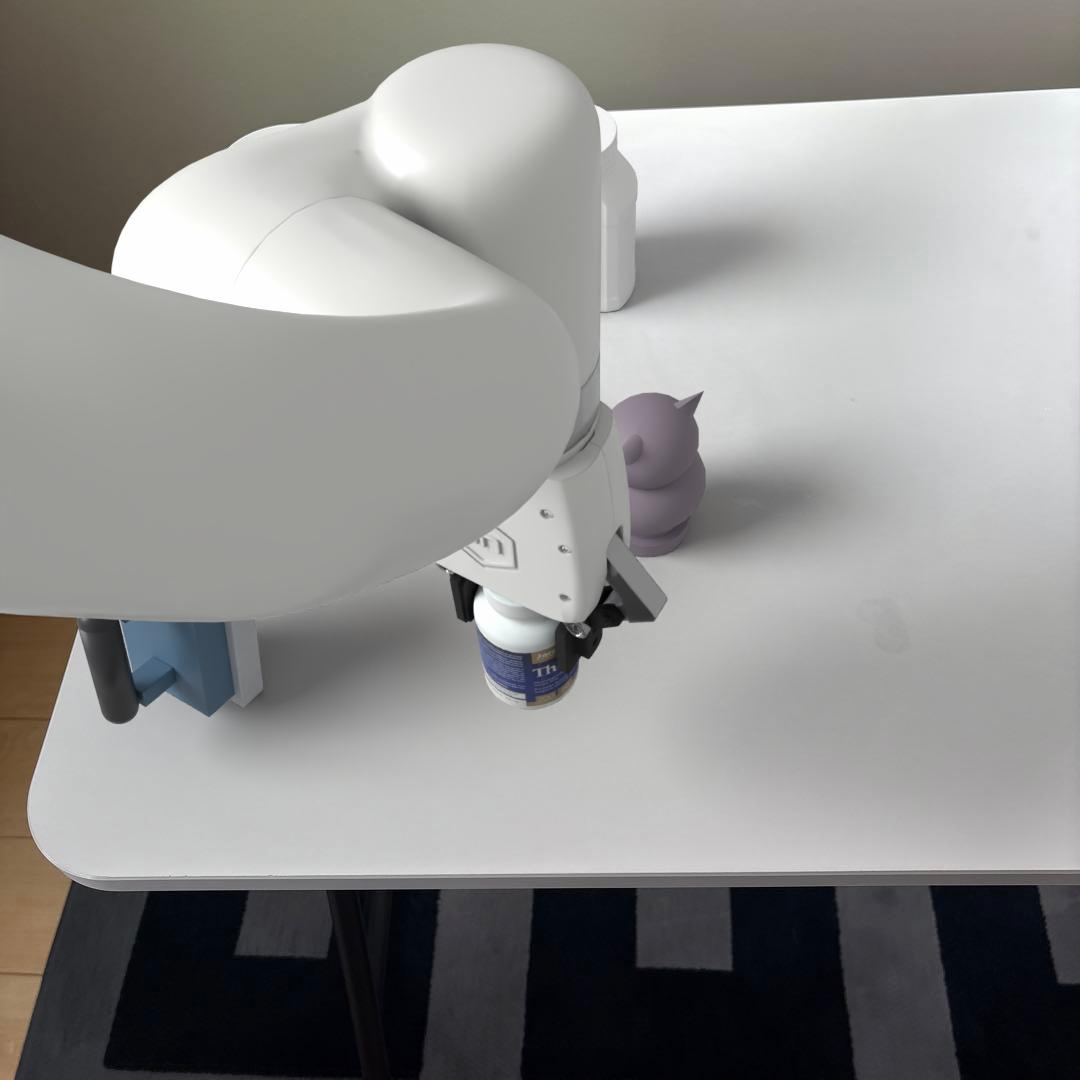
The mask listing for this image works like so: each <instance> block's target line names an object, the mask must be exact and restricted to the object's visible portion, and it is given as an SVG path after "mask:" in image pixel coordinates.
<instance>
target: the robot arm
mask: <svg viewBox="0 0 1080 1080" xmlns="http://www.w3.org/2000/svg"><path fill="white" fill-rule="evenodd" d="M595 105H596V104H595V103H594V100H593V98H592V96H591V94H590V92H589V90H588V89H587V88H586V86H585V85H584V83H583V82H582V81H581V79H580V78H579V77H578V76H577V75H576V74H575V73H574V72H573V71H572V70H571V69H570V68H568V67H567V66H566V65H564V64H563V63H561V62H559V61H558V60H556V59H555V58H553V57H550V56H548V55H546V54H543V53H541V52H540V51H539V52H538V51H537V50H533V49H530V48H526V47H523V46H519V45H511V44H506V43H489V42H486V43H485V42H484V43H483V42H480V43H465V44H460V45H454V46H449V47H444V48H441V49H436V50H434V51H431V52H428V53H426V54H423V55H420V56H417V57H416V58H414V59H412V60H410V61H408V62H407V63H405V64H403V65H402V66H401V67H400V68H398V69H396V70H395V71H394V72H393V73H391V74H390V75H388V77H387V78H385V79H384V80H383V81H382V82H381V83H380V84H379V85H378V86H377V88H376V89H375V91H374V92H373V93H372V95H370V97H369V98H368V99H366V100H365V101H362V102H360V103H357V104H354V105H352V106H349V107H347V108H344V109H341V110H338V111H336V112H334V113H330V114H328V115H324V116H321V117H318V118H316V119H313V120H310V121H307V122H304V123H301V124H297V125H295V126H291V127H288V128H285V129H282V130H280V131H276V132H273V133H269V134H265V135H263V136H259V137H256V138H254V139H251V140H248V141H245V142H242V143H238V144H236V145H233V146H230V147H227V148H224V149H223V150H222V149H221V150H219V151H217V152H214V153H212V154H210V155H208V156H205V157H203V158H200V159H199V160H197V161H194V162H192V163H190V164H188V165H187V166H185V167H183V168H182V169H180V170H178V171H176V172H175V173H174V174H172V175H171V176H170V177H168V178H167V179H165V180H164V181H163V182H162V183H160V184H159V185H157V186H156V187H155V188H154V189H152V191H150V193H148V194H147V196H146V197H144V198H143V199H142V201H141V202H140V203H139V205H138V206H137V207H136V208H135V210H134V211H133V212H132V213H131V214H130V216H129V218H128V219H127V221H126V223H125V225H124V227H123V228H122V230H121V231H120V233H119V237H118V240H117V243H116V246H115V248H114V251H113V257H112V263H111V271H110V272H111V273H110V272H106V271H102V270H99V269H96V268H93V267H89V266H87V265H84V264H81V263H78V262H75V261H72V260H70V259H67V258H64V257H61V256H59V255H55V254H52V253H50V252H47V251H44V250H41V249H39V248H35V247H33V246H30V245H28V244H25V243H24V242H23V243H22V242H20V241H18V240H15V239H13V238H11V237H8V236H6V235H3V234H2V233H1V234H0V614H5V615H17V616H35V617H55V618H73V619H77V618H97V619H113V620H119V621H120V620H134V621H161V622H228V621H242V620H255V621H256V620H265V619H270V618H276V617H281V616H289V615H294V614H299V613H304V612H308V611H310V610H314V609H318V608H322V607H326V606H329V605H332V604H335V603H337V602H340V601H342V600H345V599H349V598H352V597H355V596H357V595H360V594H362V593H364V592H368V591H370V590H372V589H375V588H377V587H380V586H383V585H385V584H387V583H390V582H392V581H394V580H397V579H399V578H402V577H405V576H407V575H409V574H412V573H415V572H416V571H419V570H421V569H423V568H425V567H427V566H429V565H431V564H434V563H435V565H436V566H437V568H438V569H440V570H441V571H442V572H443V573H446V574H448V575H449V584H450V589H451V594H452V599H453V605H454V609H455V614H456V619H457V620H459V621H461V622H463V623H465V624H467V623H471V622H473V621H474V620H475V617H474V598H475V594H476V591H477V589H478V587H479V585H481V586H483V587H485V588H487V589H489V590H491V591H493V592H495V593H497V594H499V595H501V596H503V597H505V598H508V599H510V600H512V601H514V602H516V603H518V604H520V605H522V606H524V607H526V608H528V609H530V610H533V611H535V612H537V613H539V614H541V615H544V616H546V617H548V618H551V619H554V620H557V621H560V623H559V624H558V626H557V628H556V630H555V646H556V662H557V666H558V667H559V670H560V671H562V672H564V673H566V674H570V673H571V671H572V670H573V668H574V667H575V665H576V664H577V662H578V661H579V662H580V660H581V657H582V658H584V659H586V660H590V659H591V658H592V657H593V655H594V654H595V652H596V651H597V649H598V647H599V646H600V644H601V642H602V639H603V634H604V633H603V632H604V629H609V628H617V627H620V625H621V624H622V623H623V622H628V623H629V624H634V623H635V624H637V623H640V624H641V623H653V622H655V621H656V620H657V618H658V616H659V615H660V613H661V611H662V610H663V608H664V607H665V606H666V604H667V602H668V596H667V594H666V593H665V591H663V589H662V588H661V586H659V584H658V583H657V582H656V580H655V579H654V578H653V577H652V575H651V574H650V573H649V572H648V571H647V569H646V568H645V567H644V565H643V564H642V563H641V562H640V561H639V560H638V558H637V556H635V555H634V554H633V553H632V552H631V551H630V549H629V546H630V528H631V526H630V501H629V489H628V480H627V471H626V466H625V460H624V454H623V450H622V445H621V441H620V437H619V433H618V429H617V426H616V423H615V419H614V416H613V413H612V408H611V407H610V406H608V405H607V404H606V403H605V402H603V401H601V312H600V311H601V171H602V152H601V134H600V122H599V118H598V114H597V111H596V108H595Z"/></svg>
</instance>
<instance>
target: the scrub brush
mask: <svg viewBox="0 0 1080 1080" xmlns="http://www.w3.org/2000/svg"><path fill="white" fill-rule="evenodd" d="M256 624H257V623H256V620H242V621H228V622H161V621H134V620H113V619H97V618H76V625H77V628H78V632H79V636H80V640H81V644H82V647H83V650H84V654H85V658H86V661H87V665H88V668H89V672H90V675H91V680H92V683H93V686H94V690H95V694H96V697H97V701H98V705H99V707H100V712H101V714H102V716H103V717H104V719H105V720H106V721H107V722H109V723H111V724H114V725H124V724H127V723H129V722H131V721H132V720H133V719H134V718H135V717H136V716H137V715H138V713H139V708H140V705H141V706H143V707H144V708H147V707H149V705H151V704H152V703H153V702H155V700H157V699H158V698H159V697H160V696H162V695H163V694H164V693H165V692H166V693H168V694H169V695H171V696H173V697H174V698H176V699H178V700H179V701H180V702H182V703H184V704H186V705H188V706H189V707H191V708H193V709H195V710H196V711H197V712H199V713H201V714H203V715H205V716H206V717H207V718H210V717H211V716H213V715H214V714H215V713H216V712H217V711H218V710H219V709H220V708H222V707H223V706H224V705H225V704H226V703H228V702H229V701H231V702H233V703H235V704H236V705H238V706H240V707H241V708H245V707H246V706H247V705H249V703H250V702H251V701H253V700H254V699H255V698H256V697H257V696H258V695H259V694H261V692H263V691H264V682H263V680H264V679H263V673H262V672H263V671H262V665H261V657H260V649H259V641H258V639H259V638H258V633H257V632H258V631H257V625H256Z"/></svg>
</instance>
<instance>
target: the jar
mask: <svg viewBox="0 0 1080 1080" xmlns="http://www.w3.org/2000/svg"><path fill="white" fill-rule="evenodd" d="M594 105H595V108H596V111H597V114H598V118H599V122H600V134H601V152H602V171H601V311H600V313H609V312H614V311H615V312H616V311H619V310H620V309H621V308H622V307H623V306H624V305H625V304H627V302H628V300H629V299H630V298H631V296H632V294H633V292H634V290H635V285H636V274H637V273H636V272H637V271H636V270H637V269H636V262H635V261H636V219H637V217H636V216H637V215H636V214H637V200H638V194H639V193H638V190H639V189H638V188H639V184H638V183H639V181H638V177H637V176H638V175H637V173H636V171H635V169H634V168H633V166H632V164H631V163H630V162H629V161H628V160H627V158H626V157H625V156H624V155H623V154H622V153H621V151H620V150H619V149H618V126H617V123H616V120H615V119H614V117H613V116H612V115H611V114H610V112H608V111H607V110H606V109H604V108H603V107H601V106H598V105H596V104H594Z"/></svg>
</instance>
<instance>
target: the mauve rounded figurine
mask: <svg viewBox="0 0 1080 1080" xmlns="http://www.w3.org/2000/svg"><path fill="white" fill-rule="evenodd" d="M704 392H705V391H704V390H703V391H700V392H697V393H695V394H693V395H690V396H688V397H685V398H683V399H680V400H679V399H677V398H675V397H673V396H671V395H670V394H666V393H661V392H642V393H639V394H638V393H637V394H634V395H631V396H629V397H626V398H625V399H623V400H622V401H620V402H618V403H617V404H616V405H614V406H613V408H611V410H612V413H613V416H614V419H615V423H616V426H617V429H618V433H619V437H620V441H621V445H622V450H623V454H624V460H625V466H626V471H627V480H628V489H629V501H630V526H631V528H630V546H629V549H630V551H631V552H632V553H633V554H634V556H635V557H639V558H654V557H658V556H662V555H663V556H664V555H667V554H668V553H669V552H672V551H673V550H675V549H676V548H678V547H679V546H680V544H682V542H683V541H684V540H685V539H686V537H687V534H688V532H689V528H690V523H691V515H692V514H693V513H694V511H696V510H697V508H698V507H699V505H700V503H701V501H702V498H703V496H704V493H705V490H706V487H707V486H706V485H707V482H706V481H707V480H706V479H707V478H706V475H707V474H706V473H707V472H706V470H707V469H706V466H705V464H704V462H703V459H702V457H701V455H700V452H699V451H698V450H699V447H700V430H699V426H698V423H697V420H696V418H695V416H694V415H695V413H696V412H697V408H698V406H699V404H700V401H701V399H702V397H703V394H704Z"/></svg>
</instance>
